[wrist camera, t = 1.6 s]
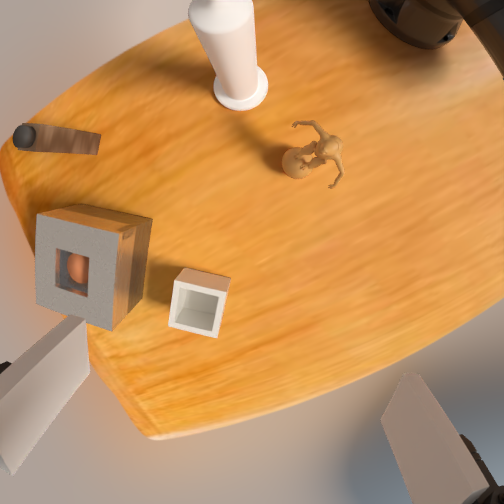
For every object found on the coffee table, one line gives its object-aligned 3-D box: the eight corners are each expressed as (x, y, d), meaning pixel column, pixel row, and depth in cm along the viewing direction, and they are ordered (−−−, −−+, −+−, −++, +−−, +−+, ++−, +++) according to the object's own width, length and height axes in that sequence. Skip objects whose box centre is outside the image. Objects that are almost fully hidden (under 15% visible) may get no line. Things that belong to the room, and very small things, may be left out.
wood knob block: (84, 132, 39) (14, 122, 24) (101, 134, 39) (31, 122, 24) (81, 152, 40) (9, 149, 25) (97, 154, 40) (26, 151, 25)
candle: (213, 64, 37) (159, -44, 13) (266, 61, 37) (269, -56, 12) (214, 112, 39) (152, 37, 14) (269, 110, 38) (277, 25, 14)
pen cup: (184, 267, 44) (174, 279, 38) (231, 278, 44) (226, 292, 38) (178, 309, 45) (168, 326, 40) (222, 319, 45) (217, 338, 40)
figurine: (266, 144, 39) (267, 131, 28) (305, 121, 38) (322, 101, 27) (299, 198, 41) (313, 208, 29) (337, 176, 40) (366, 177, 28)
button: (90, 239, 40) (67, 248, 34) (114, 245, 40) (93, 256, 34) (88, 265, 41) (66, 278, 35) (112, 272, 41) (92, 287, 35)
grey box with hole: (81, 203, 42) (36, 213, 31) (152, 218, 42) (119, 233, 32) (75, 278, 45) (36, 303, 34) (142, 298, 45) (112, 331, 34)
